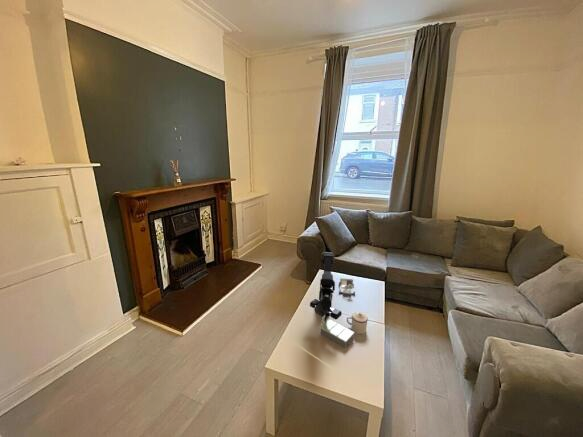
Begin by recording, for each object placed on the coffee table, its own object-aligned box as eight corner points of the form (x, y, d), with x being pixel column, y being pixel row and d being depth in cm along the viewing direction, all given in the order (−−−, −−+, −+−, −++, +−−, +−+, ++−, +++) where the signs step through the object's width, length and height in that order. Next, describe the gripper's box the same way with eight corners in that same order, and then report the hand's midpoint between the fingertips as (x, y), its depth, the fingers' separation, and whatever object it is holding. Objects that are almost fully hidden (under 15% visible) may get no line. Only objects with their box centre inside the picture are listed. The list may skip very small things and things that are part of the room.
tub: (320, 334, 143) (320, 328, 142) (329, 326, 150) (329, 321, 149) (344, 348, 133) (345, 342, 132) (352, 339, 140) (353, 333, 139)
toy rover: (356, 286, 179) (340, 284, 181) (355, 298, 182) (339, 296, 184) (354, 275, 197) (339, 273, 198) (353, 286, 199) (338, 284, 201)
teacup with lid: (366, 327, 151) (368, 310, 148) (365, 336, 142) (367, 319, 140) (347, 322, 155) (348, 305, 152) (344, 331, 146) (346, 314, 144)
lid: (318, 327, 143) (319, 319, 142) (327, 319, 150) (328, 311, 149) (345, 342, 132) (346, 334, 130) (354, 333, 139) (355, 325, 137)
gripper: (304, 297, 142) (303, 320, 146) (332, 310, 130) (330, 335, 134) (316, 289, 150) (314, 312, 154) (343, 301, 138) (340, 325, 142)
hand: (324, 321), depth 146 cm, fingers closed on lid
